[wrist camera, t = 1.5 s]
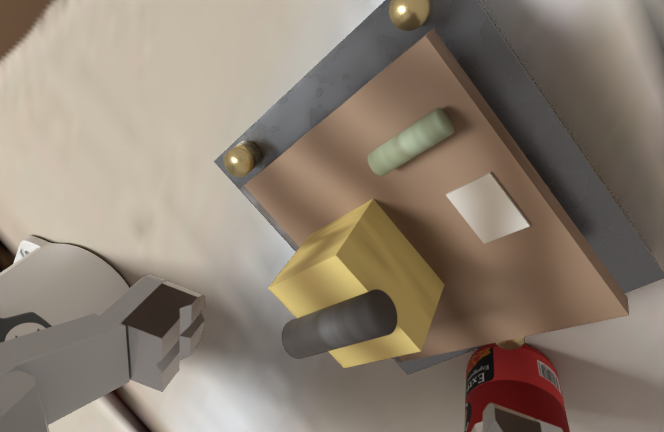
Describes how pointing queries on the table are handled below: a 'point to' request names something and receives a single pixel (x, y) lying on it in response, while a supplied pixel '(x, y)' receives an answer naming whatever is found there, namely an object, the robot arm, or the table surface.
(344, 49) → the grey tray
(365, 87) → the level plate
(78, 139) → the table surface
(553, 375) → the canned food
